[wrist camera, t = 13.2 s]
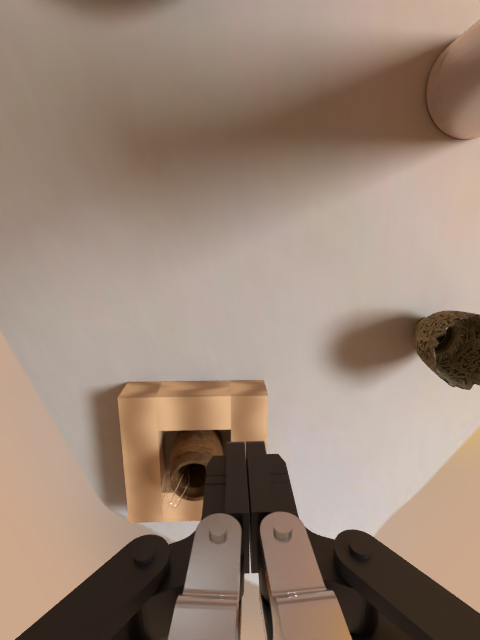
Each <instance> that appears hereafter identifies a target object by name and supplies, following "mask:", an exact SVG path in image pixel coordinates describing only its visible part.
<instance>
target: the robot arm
mask: <svg viewBox="0 0 480 640" xmlns="http://www.w3.org/2000/svg"><path fill="white" fill-rule="evenodd" d="M426 99H427V105H428V110H429V112H430V115H431V118H432V119H433V121H434V122H435V124H436V125H437V127H438V128H440V129H441V130H442V131H443V132H444V133H446V134H448V135H449V136H451V137H455V138H459V139H471V138H476V137H480V20H479V21H477V22H476V23H475V24H474V25H473V26H471V27H470V28H469V29H468V30H467V31H466V32H464V33H463V34H462V35H461V36H460V37H458V38H457V39H456V40H455V41H454V42H452V43H451V44H450V45H449V46H448V47H447V48H446V49H445V50H444V51H443V52H442V53H441V54H440V55H439V57H438V59H437V60H436V62H435V63H434V65H433V67H432V70H431V72H430V75H429V79H428V83H427V94H426ZM249 541H250V557H251V573H258V574H259V600H260V608H261V615H262V621H263V627H264V634H265V640H480V613H478V612H477V611H475V610H474V609H472V608H471V607H470V606H468V605H467V604H466V603H464V602H463V601H461V600H460V599H459V598H457V597H456V596H455V595H453V594H452V593H450V592H449V591H447V590H446V589H445V588H443V587H442V586H441V585H439V584H438V583H436V582H435V581H434V580H432V579H431V578H430V577H428V576H427V575H425V574H424V573H423V572H421V571H420V570H418V569H417V568H416V567H414V566H413V565H411V564H410V563H409V562H407V561H406V560H404V559H403V558H402V557H400V556H399V555H397V554H396V553H395V552H393V551H392V550H391V549H389V548H388V547H386V546H385V545H383V544H382V543H381V542H379V541H378V540H377V539H375V538H374V537H372V536H371V535H369V534H367V533H365V532H363V531H359V530H346V531H343V532H341V533H340V534H338V536H337V537H336V539H335V540H334V539H330V538H326V537H323V536H320V535H317V534H315V533H313V532H311V531H310V530H308V529H307V528H306V527H305V526H304V524H303V523H302V521H301V520H300V519H299V517H298V513H297V509H296V505H295V501H294V496H293V492H292V488H291V484H290V479H289V475H288V471H287V467H286V463H285V461H284V460H283V459H282V458H281V457H280V456H279V454H266V449H265V443H264V441H246V455H245V441H241V442H227V444H226V455H219V456H213V457H212V458H211V460H210V461H209V462H208V464H207V469H206V479H205V488H204V498H203V508H202V518H201V522H200V523H199V524H198V526H197V528H196V530H195V532H194V533H192V534H191V535H190V536H189V537H187V538H185V539H183V540H180V541H178V542H175V543H172V544H169V545H168V543H167V542H166V540H165V539H164V538H162V537H160V536H157V535H144V536H140V537H138V538H136V539H134V540H133V541H131V542H130V543H129V544H127V545H126V546H125V547H124V548H123V549H121V550H120V551H119V552H118V553H117V554H116V555H114V556H113V557H112V558H111V559H110V560H108V561H107V562H106V563H105V564H104V565H103V566H101V567H100V568H99V569H98V570H97V571H95V572H94V573H93V574H92V575H91V576H90V577H88V578H87V579H86V580H85V581H84V582H83V583H81V584H80V585H79V586H78V587H77V588H75V589H74V590H73V591H72V592H71V593H69V594H68V595H67V596H66V597H65V598H64V599H63V600H61V601H60V602H59V603H58V604H56V605H55V606H54V607H53V608H52V609H51V610H50V611H48V612H47V613H46V614H45V615H44V616H42V617H41V618H40V619H39V620H38V621H37V622H35V623H34V624H33V625H32V626H31V627H29V628H28V629H27V630H26V631H25V632H23V633H22V634H21V635H20V636H19V637H17V638H16V639H15V640H241V616H242V596H243V593H244V573H249Z"/></svg>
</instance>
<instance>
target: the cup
mask: <svg viewBox="0 0 480 640" xmlns="http://www.w3.org/2000/svg"><path fill="white" fill-rule="evenodd" d="M414 345H415V349H416V351H417V354H418V355H419V357H420V358H421V359H422V361H423V362H424V363H425V364H426V365H427V366H428V367H429V368H430V369H431V370H432V371H433V372H435V373H436V374H437V375H438V376H439V377H440V378H441V379H443V380H444V381H445V382H447V383H448V384H449V385H450V386H452V387H455V386H457V387H459V388H461V389H466V390H470V389H471V388H472V386H473V385H474V384H477V385H480V315H478V314H473V313H467V312H460V311H441V312H437V313H434V314H432V315H430V316H428V317H427V318H424V319H422V320H420V321H419V322H418V323H417V324H416V326H415V328H414Z"/></svg>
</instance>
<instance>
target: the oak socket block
mask: <svg viewBox="0 0 480 640" xmlns="http://www.w3.org/2000/svg"><path fill="white" fill-rule="evenodd" d="M117 399H118V410H119V421H120V432H121V443H122V454H123V465H124V476H125V487H126V498H127V509H128V520H129V523H139V522H171V521H201V518H202V508H203V500H200V501H188V500H185V499H183V498H182V499H181V497H179V496H178V495H177V494H176V493H175V494H174V491H173V489H172V487H171V484H169V483H170V479H169V478H170V457H171V453H172V448H173V444H174V441H175V438H176V436H177V434H178V432H179V431H181V430H218V431H219V433H220V435H221V437H222V441H223V455H226V444H227V442H241V441H245V455H246V441H264V443H265V449H266V451H267V414H268V394H267V390H266V386H265V383H264V380H246V381H175V382H128V383H127V384H126V386H125V387H124V389H123V390H122V392H121V393H120V395H119V396H118V398H117ZM168 479H169V480H168ZM166 482H167V483H166ZM165 484H166V485H165ZM168 485H169V486H170V487H169V488H168ZM164 486H165V487H164ZM163 488H164V489H163ZM167 489H168V498H167V492H166V491H167ZM162 490H163V492H162ZM165 493H166V494H165ZM173 494H174V497H173ZM162 495H163V497H164V499H165V500H166V501H167V502H168V503H167V502H166V501H165V500H164V499H163V497H162ZM164 495H165V496H164ZM172 497H173V499H172ZM162 499H163V503H164V504H163V503H162ZM171 499H172V501H171ZM177 499H178V500H177ZM168 500H169V501H168ZM176 500H177V501H176ZM180 500H181V501H180ZM184 500H185V501H184ZM170 501H171V504H173V505H171V504H170V505H171V506H172V507H173V508H176V509H173V508H172V507H171V506H170V505H169V503H170ZM174 501H175V502H174ZM183 501H184V502H183ZM172 502H173V503H172ZM179 502H180V505H179ZM182 502H183V503H182ZM181 503H182V504H181ZM178 505H179V506H178ZM168 506H169V507H168ZM177 506H178V507H177Z"/></svg>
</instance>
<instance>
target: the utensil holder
mask: <svg viewBox="0 0 480 640" xmlns="http://www.w3.org/2000/svg"><path fill="white" fill-rule="evenodd" d="M219 455H223V441H222V437H221V435H220V433H219V431H218V430H181V431H179V432H178V434H177V436H176V438H175V441H174V444H173V448H172V453H171V457H170V478H169V479H170V483H169V484H171V487H172V489H173V491H174V494H175V493H176V494H177V495H178V496H179V497H181V499H182V498H183V499H185V500H188V501H200V500H203V498H204V488H205V479H206V469H207V464H208V462H209V461H210V460H211V458H212V457H213V456H219ZM169 479H168V480H169ZM166 483H167V482H166ZM165 485H166V484H165ZM164 487H165V486H164ZM169 487H170V486H169V485H168V488H169ZM163 489H164V488H163ZM162 492H163V490H162ZM166 492H167V498H168V489H167V491H166ZM165 494H166V493H165ZM174 494H173V497H174ZM164 496H165V495H164ZM162 497H163V495H162ZM173 497H172V499H173ZM163 499H164V497H163ZM163 499H162V503H163ZM172 499H171V501H172ZM164 500H165V499H164ZM177 500H178V499H177ZM177 500H176V501H177ZM185 500H184V501H185ZM165 501H166V500H165ZM168 501H169V500H168ZM171 501H170V503H169V505H170V504H171ZM180 501H181V500H180ZM184 501H183V502H184ZM166 502H167V501H166ZM174 502H175V501H174ZM183 502H182V503H183ZM167 503H168V502H167ZM172 503H173V502H172ZM182 503H181V504H182ZM163 504H164V503H163ZM171 505H173V504H171ZM171 505H170V506H171ZM179 505H180V502H179ZM179 505H178V506H179ZM178 506H177V507H178ZM168 507H169V506H168ZM171 507H172V506H171ZM172 508H173V507H172ZM173 509H176V508H173Z"/></svg>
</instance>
